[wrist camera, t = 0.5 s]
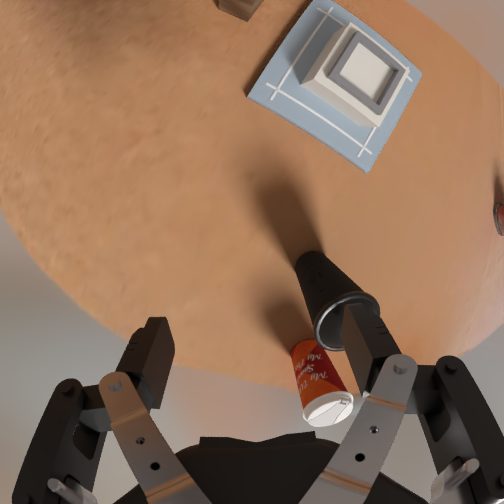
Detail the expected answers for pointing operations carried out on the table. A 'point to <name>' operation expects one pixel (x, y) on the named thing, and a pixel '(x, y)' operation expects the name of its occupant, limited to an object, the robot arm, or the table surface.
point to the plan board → (338, 82)
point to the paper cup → (319, 385)
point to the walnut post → (240, 7)
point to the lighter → (499, 218)
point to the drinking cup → (329, 297)
